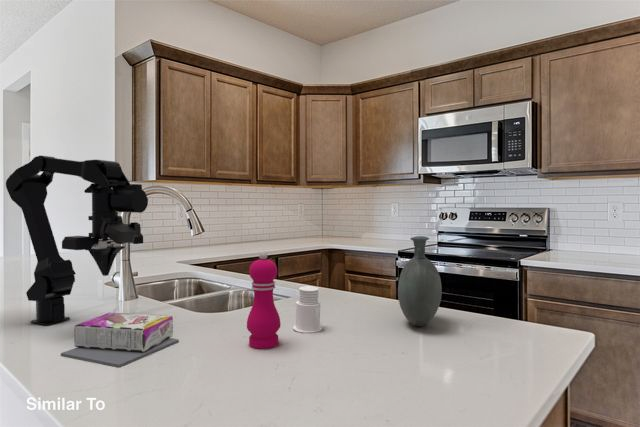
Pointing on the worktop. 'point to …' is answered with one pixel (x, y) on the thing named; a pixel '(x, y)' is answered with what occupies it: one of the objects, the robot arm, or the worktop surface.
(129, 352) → the mat
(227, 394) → the worktop surface
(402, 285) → the flask
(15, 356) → the worktop surface
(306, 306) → the downlight
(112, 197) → the robot arm
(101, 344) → the candy bar box
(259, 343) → the pepper mill
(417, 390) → the worktop surface
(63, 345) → the worktop surface
